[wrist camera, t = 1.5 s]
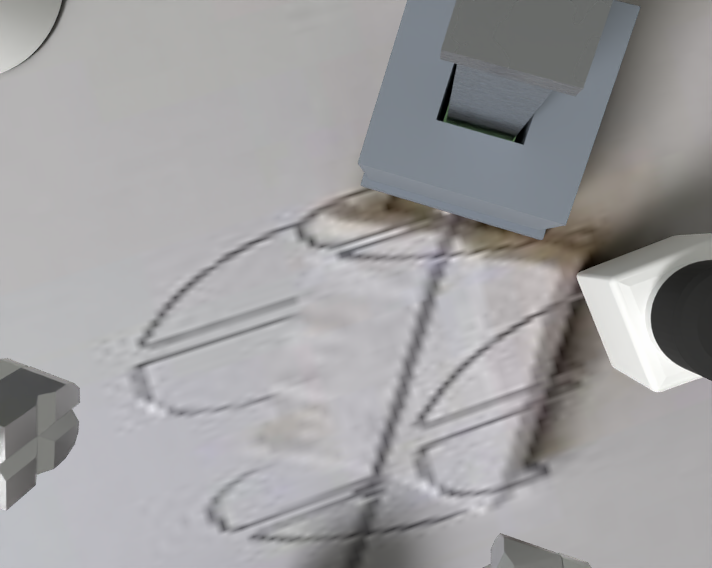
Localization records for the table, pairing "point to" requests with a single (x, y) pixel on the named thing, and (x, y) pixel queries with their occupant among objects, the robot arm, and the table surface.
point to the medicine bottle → (656, 310)
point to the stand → (478, 150)
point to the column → (517, 58)
